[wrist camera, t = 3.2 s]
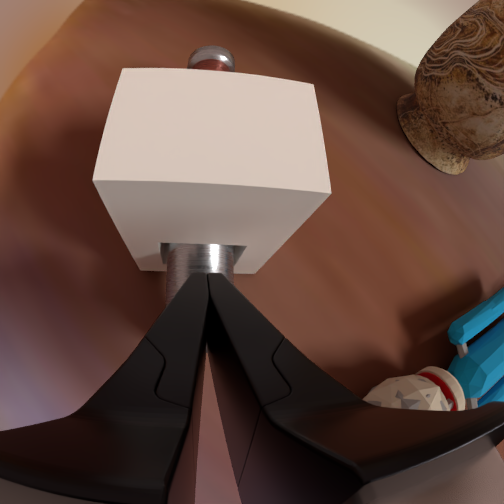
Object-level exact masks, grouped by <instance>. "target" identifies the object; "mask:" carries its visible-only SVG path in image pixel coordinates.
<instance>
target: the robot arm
mask: <svg viewBox="0 0 504 504" xmlns="http://www.w3.org/2000/svg"><path fill="white" fill-rule="evenodd" d="M206 347H207V351H208V357H209V362H210V367H211V372H212V377H213V382H214V387H215V392H216V397H217V402H218V406H219V411H220V416H221V420H222V425H223V429H224V434H225V438H226V442H227V447H228V451H229V455H230V459H231V463H232V467H233V471H234V475H235V479H236V483H237V487H238V491H239V495H240V499H241V502H242V504H504V461H503V459H502V457H501V455H500V453H499V452H498V450H497V448H496V446H497V445H498V444H499V443H500V442H501V441H502V440H503V439H504V402H503V401H492V402H489V403H487V404H485V405H482V406H480V407H477V408H474V409H469V410H460V411H436V410H416V409H401V408H389V407H381V406H377V405H373V404H371V403H368V402H366V401H365V400H363V399H361V398H360V397H358V396H357V395H355V394H354V393H352V392H351V391H350V390H348V389H347V388H346V387H344V386H343V385H342V384H340V383H339V382H338V381H336V380H335V379H334V378H332V377H331V376H330V375H328V374H327V373H326V372H324V371H323V370H322V369H321V368H319V367H318V366H317V365H316V364H314V363H313V362H312V361H311V360H309V359H308V358H307V357H306V356H305V355H304V354H303V353H301V352H300V351H299V350H298V349H297V348H296V347H295V346H294V345H293V344H292V343H291V342H290V341H289V340H288V339H287V338H285V337H284V335H283V334H282V333H281V332H280V331H279V330H277V329H276V328H275V327H274V326H273V325H272V324H271V323H270V322H269V321H268V320H267V319H266V318H265V317H264V316H263V315H262V314H261V313H260V312H259V311H258V310H257V308H256V307H255V306H254V305H253V304H252V303H251V302H250V301H249V300H248V299H247V298H246V297H245V296H244V295H243V294H242V293H241V292H240V291H239V290H238V289H237V288H236V287H235V286H234V285H233V284H232V283H231V282H230V281H229V280H228V279H227V278H226V277H225V276H224V275H223V274H222V273H208V274H206V273H204V272H192V273H191V274H190V276H189V277H188V278H187V280H186V281H185V282H184V283H183V285H182V286H181V287H180V289H179V290H178V291H177V293H176V294H175V296H174V297H173V298H172V300H171V301H170V302H169V304H168V305H167V306H166V308H165V309H164V310H163V312H162V313H161V314H160V316H159V317H158V318H157V320H156V321H155V323H154V324H153V325H152V327H151V328H150V329H149V331H148V332H147V334H146V335H145V336H144V338H143V339H142V340H141V342H140V343H139V344H138V346H137V347H136V348H135V350H134V351H133V352H132V354H131V355H130V356H129V357H128V359H127V360H126V361H125V362H124V363H123V364H122V365H121V366H120V367H119V369H118V370H117V371H116V372H115V373H114V374H113V375H112V376H111V377H110V378H109V379H108V380H107V381H106V382H105V383H104V384H103V385H102V386H101V387H100V388H99V390H98V391H97V392H96V393H95V394H94V395H93V396H92V397H91V398H90V399H89V400H88V401H87V402H86V403H85V404H84V405H83V406H82V407H81V408H79V409H78V410H77V411H76V412H74V413H72V414H71V415H69V416H66V417H64V418H60V419H56V420H52V421H47V422H43V423H39V424H34V425H30V426H25V427H20V428H15V429H10V430H5V431H0V504H195V486H196V470H197V456H198V442H199V429H200V416H201V404H202V393H203V381H204V371H205V360H206Z"/></svg>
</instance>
